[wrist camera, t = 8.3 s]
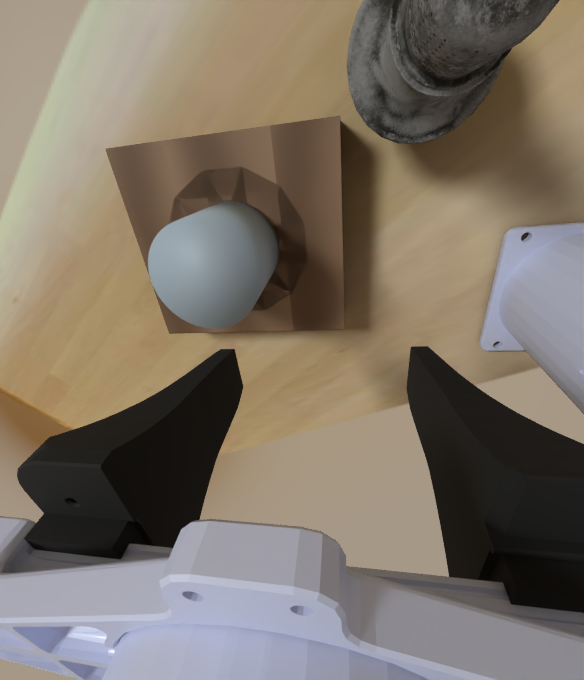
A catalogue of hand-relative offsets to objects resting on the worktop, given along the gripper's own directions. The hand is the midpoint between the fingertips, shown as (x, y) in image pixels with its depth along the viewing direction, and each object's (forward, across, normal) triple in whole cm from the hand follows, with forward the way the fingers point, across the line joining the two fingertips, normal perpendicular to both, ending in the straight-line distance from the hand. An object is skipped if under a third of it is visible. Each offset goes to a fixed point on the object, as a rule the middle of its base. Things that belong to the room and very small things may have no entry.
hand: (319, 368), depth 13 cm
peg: (+9, +5, -4) cm, 11 cm away
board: (+9, +5, -4) cm, 11 cm away
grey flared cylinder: (+10, -4, -10) cm, 15 cm away
